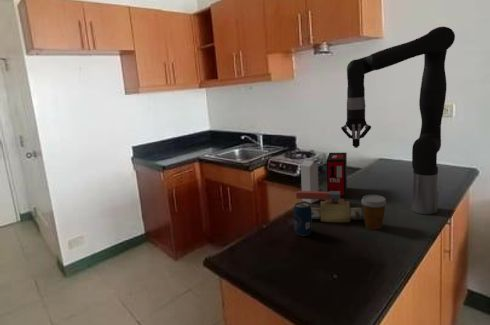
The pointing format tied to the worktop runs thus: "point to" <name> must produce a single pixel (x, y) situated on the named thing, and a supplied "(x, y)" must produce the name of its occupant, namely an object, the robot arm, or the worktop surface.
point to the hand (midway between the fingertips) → (356, 147)
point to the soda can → (302, 218)
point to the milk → (309, 177)
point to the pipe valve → (336, 211)
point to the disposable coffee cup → (373, 211)
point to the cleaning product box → (337, 173)
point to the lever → (318, 195)
